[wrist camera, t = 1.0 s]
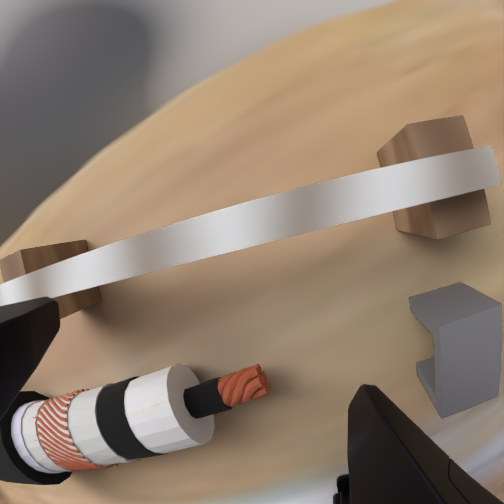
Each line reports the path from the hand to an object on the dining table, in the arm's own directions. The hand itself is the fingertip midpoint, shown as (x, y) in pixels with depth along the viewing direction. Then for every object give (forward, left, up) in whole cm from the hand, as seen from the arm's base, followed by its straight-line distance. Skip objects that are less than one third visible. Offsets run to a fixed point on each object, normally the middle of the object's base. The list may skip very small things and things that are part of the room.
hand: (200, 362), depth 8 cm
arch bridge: (+2, -3, -13) cm, 13 cm away
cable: (+18, +9, -13) cm, 24 cm away
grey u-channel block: (-11, +7, -13) cm, 18 cm away
